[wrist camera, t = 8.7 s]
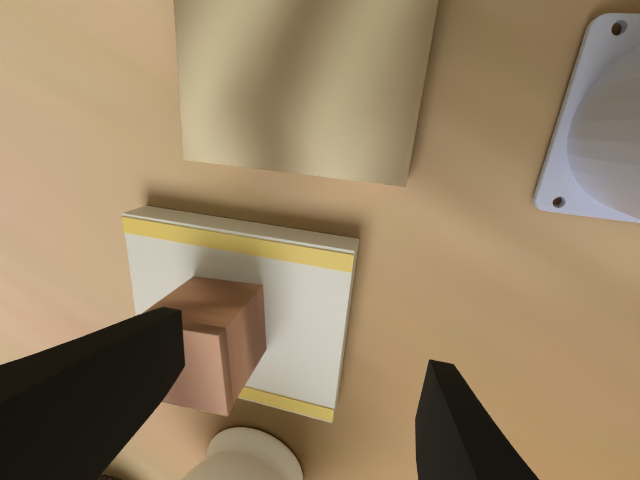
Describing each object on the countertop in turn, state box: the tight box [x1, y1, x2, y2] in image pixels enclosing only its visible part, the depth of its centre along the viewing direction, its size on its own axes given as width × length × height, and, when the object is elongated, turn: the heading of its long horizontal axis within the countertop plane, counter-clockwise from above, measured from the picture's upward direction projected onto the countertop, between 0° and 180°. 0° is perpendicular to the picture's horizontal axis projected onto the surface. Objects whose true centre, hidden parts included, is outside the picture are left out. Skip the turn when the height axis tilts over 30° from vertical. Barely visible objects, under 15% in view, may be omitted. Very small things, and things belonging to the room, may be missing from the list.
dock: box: [122, 206, 359, 423], centre depth 21 cm, size 14×12×2 cm
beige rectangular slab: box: [174, 0, 439, 187], centre depth 16 cm, size 12×9×2 cm
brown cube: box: [136, 276, 266, 416], centre depth 18 cm, size 5×5×5 cm
